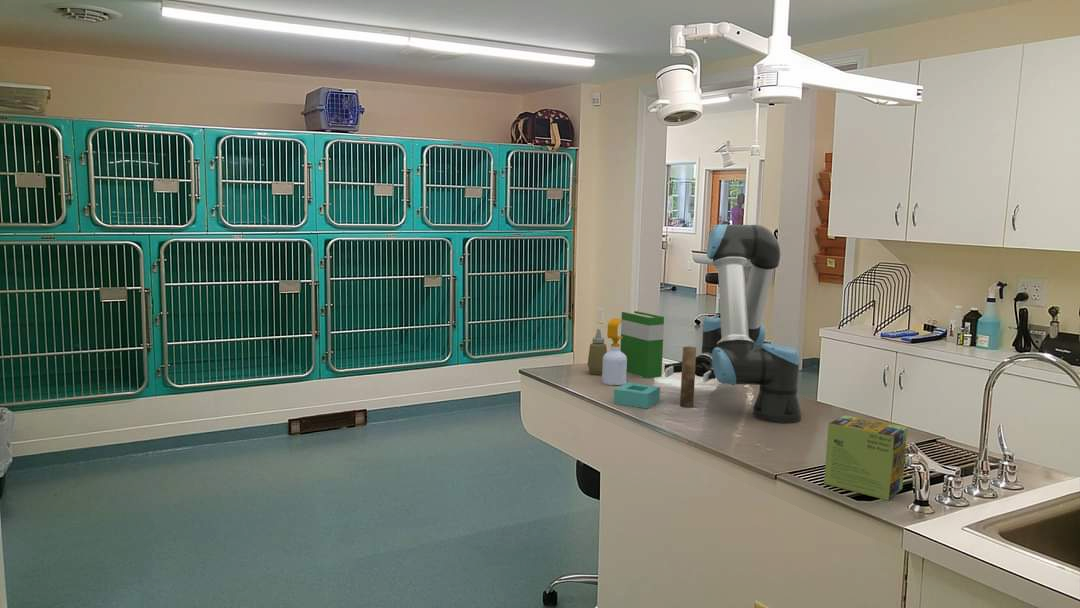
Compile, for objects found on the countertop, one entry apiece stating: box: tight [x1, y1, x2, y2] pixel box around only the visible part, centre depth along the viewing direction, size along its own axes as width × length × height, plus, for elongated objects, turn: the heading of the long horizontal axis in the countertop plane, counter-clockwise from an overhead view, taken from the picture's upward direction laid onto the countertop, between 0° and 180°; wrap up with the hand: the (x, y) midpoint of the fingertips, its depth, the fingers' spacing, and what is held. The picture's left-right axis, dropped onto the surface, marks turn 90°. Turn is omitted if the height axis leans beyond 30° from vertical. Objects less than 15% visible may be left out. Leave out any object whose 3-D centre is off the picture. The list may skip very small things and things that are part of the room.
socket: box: [613, 382, 661, 409], centre depth 255 cm, size 12×12×5 cm
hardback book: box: [620, 310, 665, 379], centre depth 300 cm, size 18×7×24 cm, turn 31°
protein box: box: [823, 415, 908, 501], centre depth 180 cm, size 10×15×16 cm
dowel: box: [679, 346, 697, 409], centre depth 251 cm, size 4×4×20 cm
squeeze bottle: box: [587, 328, 608, 376], centre depth 297 cm, size 8×8×18 cm
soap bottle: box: [601, 317, 628, 386], centre depth 281 cm, size 9×9×25 cm
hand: (684, 375), depth 248 cm, fingers open, 12 cm apart
